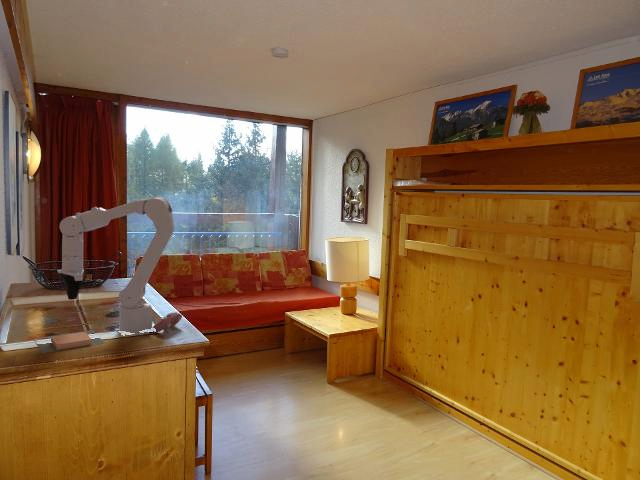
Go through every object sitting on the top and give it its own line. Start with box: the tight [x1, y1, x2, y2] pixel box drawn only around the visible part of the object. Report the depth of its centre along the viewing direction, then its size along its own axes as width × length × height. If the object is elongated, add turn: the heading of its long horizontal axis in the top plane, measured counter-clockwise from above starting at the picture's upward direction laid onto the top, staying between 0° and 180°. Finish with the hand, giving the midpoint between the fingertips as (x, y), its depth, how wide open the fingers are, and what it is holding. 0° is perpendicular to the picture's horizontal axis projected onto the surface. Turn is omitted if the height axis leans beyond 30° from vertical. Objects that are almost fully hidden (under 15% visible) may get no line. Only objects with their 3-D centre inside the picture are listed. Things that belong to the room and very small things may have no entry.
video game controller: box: [152, 311, 183, 333], centre depth 153 cm, size 10×5×7 cm, turn 165°
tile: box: [51, 331, 92, 350], centre depth 134 cm, size 9×2×7 cm
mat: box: [33, 329, 106, 354], centre depth 135 cm, size 16×13×1 cm
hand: (72, 298), depth 143 cm, fingers closed
